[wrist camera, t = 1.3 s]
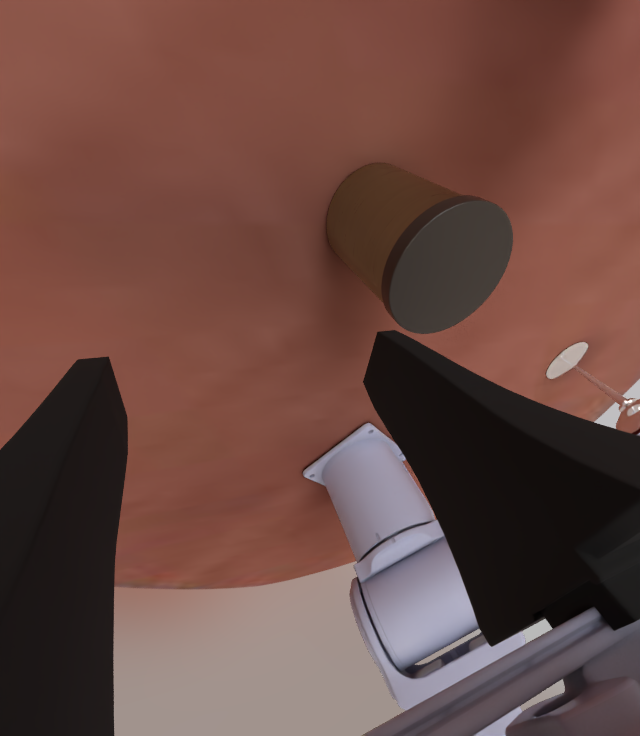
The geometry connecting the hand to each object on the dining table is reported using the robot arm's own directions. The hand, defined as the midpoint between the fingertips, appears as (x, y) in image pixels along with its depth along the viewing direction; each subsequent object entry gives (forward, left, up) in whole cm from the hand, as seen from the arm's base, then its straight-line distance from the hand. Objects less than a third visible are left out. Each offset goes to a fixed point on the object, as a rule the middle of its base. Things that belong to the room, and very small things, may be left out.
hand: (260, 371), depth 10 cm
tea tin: (-5, -7, -10) cm, 13 cm away
